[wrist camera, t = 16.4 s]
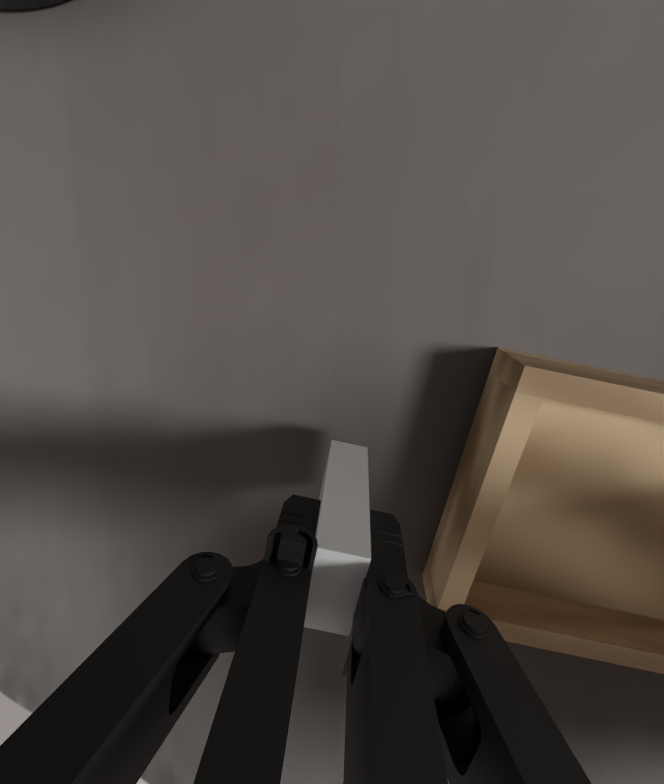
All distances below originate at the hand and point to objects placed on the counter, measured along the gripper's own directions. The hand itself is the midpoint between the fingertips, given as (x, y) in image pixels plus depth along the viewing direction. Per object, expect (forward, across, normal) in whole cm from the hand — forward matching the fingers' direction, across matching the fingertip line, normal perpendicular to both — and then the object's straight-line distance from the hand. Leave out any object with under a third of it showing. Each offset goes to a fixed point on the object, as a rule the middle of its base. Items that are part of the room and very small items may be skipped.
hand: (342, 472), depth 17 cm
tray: (+2, +15, 0) cm, 15 cm away
